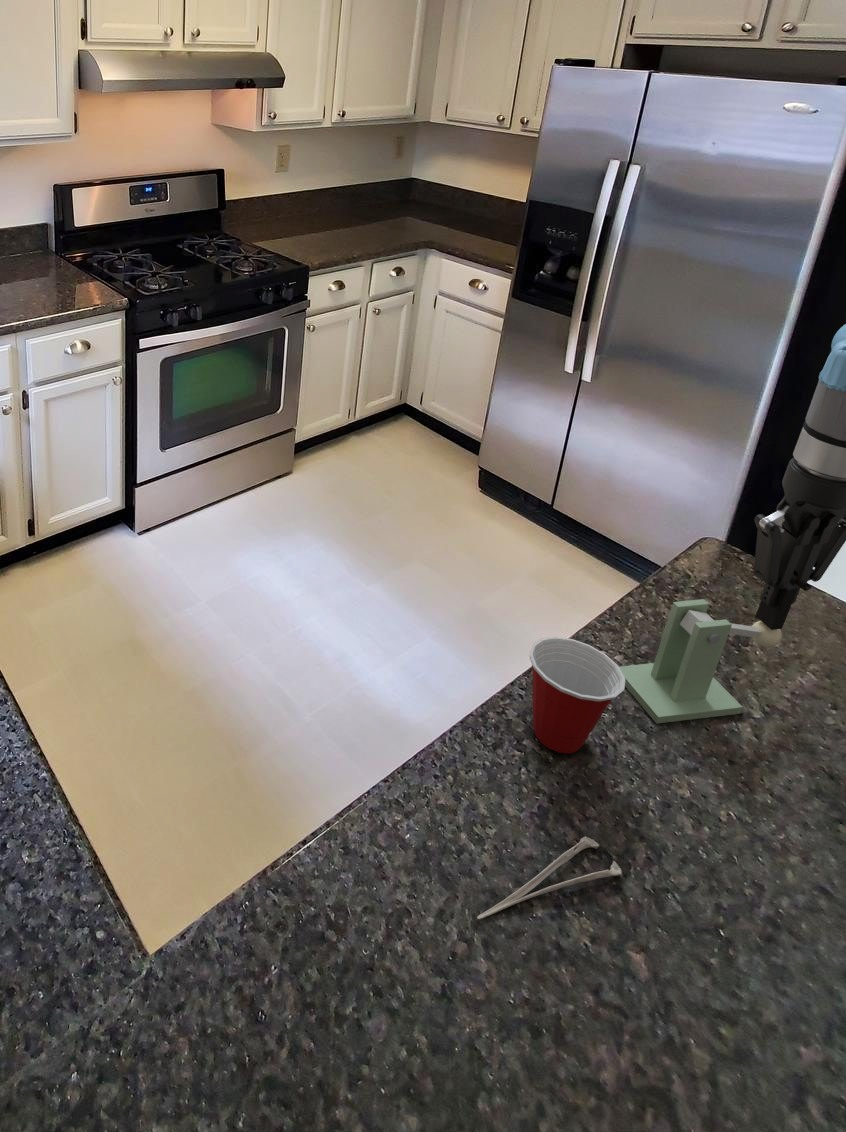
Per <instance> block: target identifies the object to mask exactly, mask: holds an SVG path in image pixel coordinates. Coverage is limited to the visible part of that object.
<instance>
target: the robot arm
mask: <svg viewBox="0 0 846 1132" xmlns="http://www.w3.org/2000/svg"><path fill="white" fill-rule="evenodd" d="M830 348H831V350H830V353H829V355H828V356H827V359H826V361H825V364H824V366H823V368H822V370H821V371H820V372H819V375H818V382H817V385H816V387H815V390H814V393H813V396H812V399H811V402H810V405H809V407H808V410H807V412H806V416H805V420H804V422H803V425H802V428H801V431H800V434H799V437H798V439H797V442H796V445H795V447H794V450H793V453H792V456H793V457H792V458H790V460H789V462H788V464H787V467H786V470H785V472H784V476H783V478H782V482H781V484H782V485H781V486H782V489H783V492H784V496H783V497H782V499H781V500H780V502H779V503H778V504H777V506H776V511H775V512H772V513H771V514H770V515H767V516H765V515H764V514H763V513H761V514H760V513H759V514H757V515H755V517H754V519H753V521H754V524H755V526H756V529H757V533H756V544H755V553H754V563H753V574H754V575H755V576H756V577H757V578H759V579H760V580H761V581H762V582H763V583H764V585H763V588H762V591H761V593H760V597H759V600H760V603H759V605H758V608H757V611H756V613H755V618H757V619H758V621H762V622H763V623H764V624H765V625H766V626H767V627H769V628H770V629H771V630H775V629H780V630H783V628H784V626H785V622H786V620H787V617H788V615H789V613H790V610H791V608H792V605H793V604H794V603H795V602H796V601H797V597H798V595H799V593H800V591H801V590H802V591H804V592H808V591H810V590H811V589H812V587H813V586H812V585H810V584H809V583H808V582H810V581H812V582H814V583H816V582H818V581H820V580H821V579H822V578H823V576H824V575H825V573H826V571H827V570H828V569H829V567H830V565H831V564H832V562H833V561H834V559H835V558H836V557H837V555H838V553H839V552H840V551H841V549H842V548H843V546H844V544H845V543H846V323H845V324H843V326H841V327H840V328H839V329H838V330H837V331H836V333H835V334H834V335H833V338H832V340H831V345H830Z"/></svg>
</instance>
